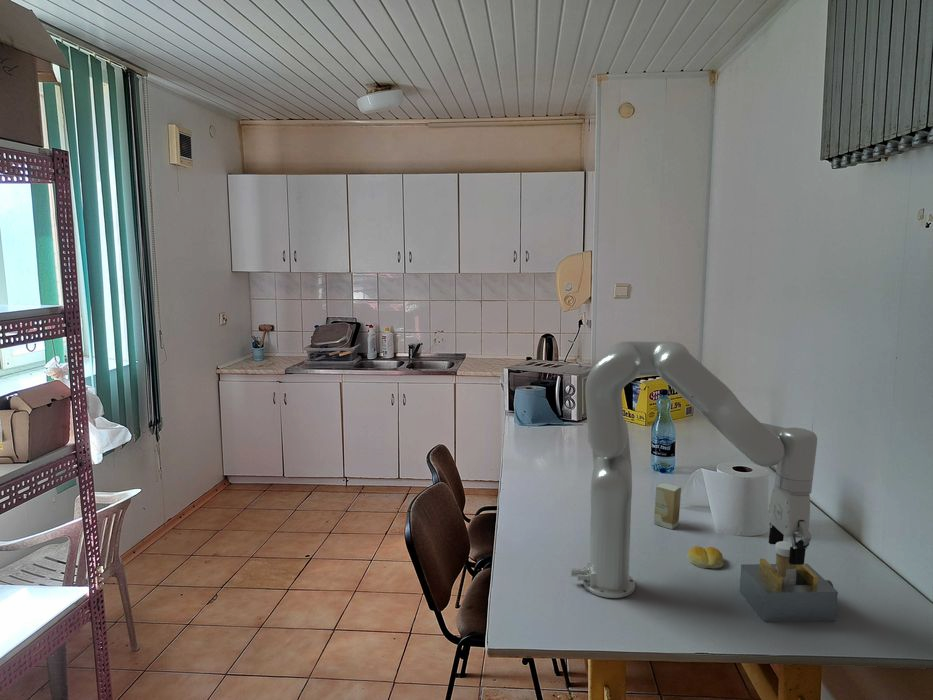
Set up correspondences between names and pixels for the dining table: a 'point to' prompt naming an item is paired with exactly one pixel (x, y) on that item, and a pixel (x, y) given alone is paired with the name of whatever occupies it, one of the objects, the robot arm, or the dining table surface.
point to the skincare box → (667, 505)
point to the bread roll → (705, 557)
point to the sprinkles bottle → (785, 563)
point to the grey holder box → (788, 594)
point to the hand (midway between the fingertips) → (785, 553)
